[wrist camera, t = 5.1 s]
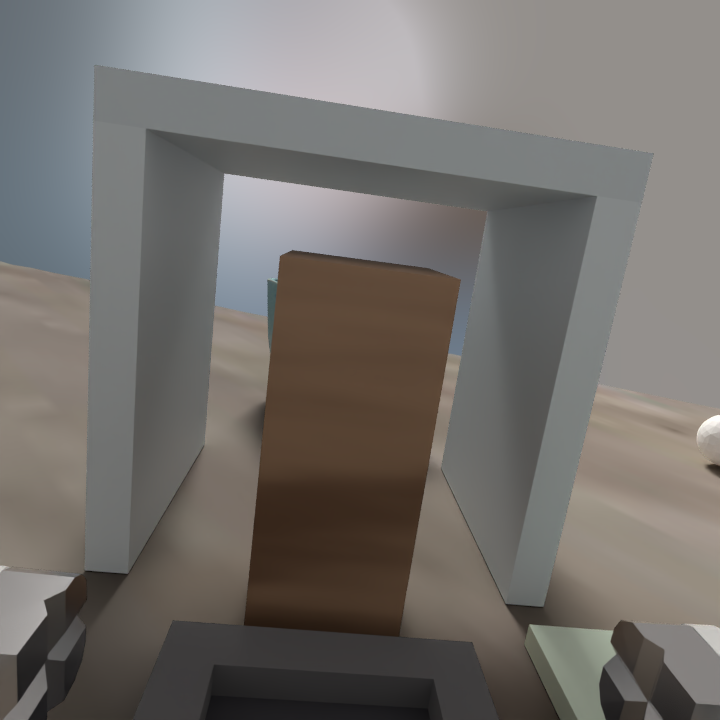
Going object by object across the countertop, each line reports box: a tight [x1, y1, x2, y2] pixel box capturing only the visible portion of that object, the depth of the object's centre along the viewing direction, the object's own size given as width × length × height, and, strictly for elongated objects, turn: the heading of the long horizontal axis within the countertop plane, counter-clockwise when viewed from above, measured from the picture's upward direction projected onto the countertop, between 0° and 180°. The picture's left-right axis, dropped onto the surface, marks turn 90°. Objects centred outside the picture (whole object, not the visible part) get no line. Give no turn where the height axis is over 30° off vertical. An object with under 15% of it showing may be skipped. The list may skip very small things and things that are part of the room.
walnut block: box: [244, 250, 461, 637], centre depth 18 cm, size 5×5×12 cm
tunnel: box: [85, 65, 654, 607], centre depth 24 cm, size 12×17×16 cm
